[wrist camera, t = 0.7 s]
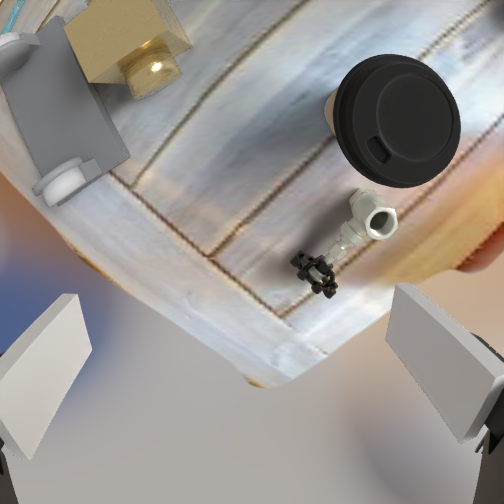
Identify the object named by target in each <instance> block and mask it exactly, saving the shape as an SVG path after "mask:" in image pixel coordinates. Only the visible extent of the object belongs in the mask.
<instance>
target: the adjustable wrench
mask: <svg viewBox="0 0 504 504" xmlns="http://www.w3.org/2000/svg"><path fill="white" fill-rule="evenodd" d="M19 2H20V0H18V1H17V3H16V5H15V7H14V9H13V11H12V13H11V15H10V17H9V19H8V21H7V24H6V26H5V28H4V30H3V33H2V35H3V34H6V33H9V32H10V31H11V29H12V26H13V24H14V22H15V20H16V18H17V16H18V14H19V12H20V9H21V7H22V6H23V4H24V2H25V0H23V1H22V3H21V5H20V6H18V4H19ZM17 7H18V8H17ZM16 10H17V13H15V11H16Z"/></svg>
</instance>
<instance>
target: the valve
mask: <svg viewBox="0 0 504 504" xmlns="http://www.w3.org/2000/svg"><path fill="white" fill-rule="evenodd" d="M348 201H349V204H350V207H351V210H352V213H353V217H352V219H351V220H350V221H349V222H347V221H345V222H344V223H343V224H342V225H341V227H340V230H341V231H342V233H341V234H340V238H341V239H340V240H339V241H337V240H334V242H333V243H332V244H331V245H330V246H329V247H328V251H329V253H328V254H327V255H326V256H323V255H320V256H319V257H317V258H314V257H313V256H311V257H310V258H309V259H304V258H303V256H304V255H305V253H304V252H302V251H301V250H299V251H298V252H297V253H296V254H295V255H294V256H293V257H292V258H291V260H290V263H291V264H292V265H293V266H294V267H297V268H298V269H299V271H298V272H297V276H298V278H299V279H301V280H302V281H304V280H307V281H308V282H309V283H310V284H311V285H312V286H311V289H312V291H313V292H314V293H316V294H319V293H320V292H321V291H323V293H324V295H325V296H326V297H327V298H329V299H330V298H332V297H333V296H334V295H335V294H336V291H335V289H336V288H337V287H338V285H337V283H336V282H335V274H334V272H333V271H332V270H331V269H332V268H333V265H332V262H333V261H334V260H335V259H337V260H340V259H341V258H342V257H343V256H344V255H345V254H346V253H347V250H346V248H347V247H348V246H349V247H353V246H354V245H356V246H358V247H359V246H360V245H361V244H362V243H363V242H364V241H365V238H364V237H365V236H366V235H367V236H368V238H372V239H377V240H386V239H388V238H389V237H390V236H391V235H392V234H393V233H394V231H395V230H396V229H397V227H398V222H397V217H396V213H395V210H394V209H393V208H392V207H391V206H390V204H389V203H388V201H387V200H386V199H385V198H384V197H383V196H382V195H380V194H378V193H377V192H376V191H374V190H369V189H364V188H358V189H357V191H356V192H355V193H354V194H353V195H352V196H351V198H350V199H349V200H348ZM329 276H330V280H329V279H328V277H329ZM320 280H322V282H323V283H321V282H319V281H320Z"/></svg>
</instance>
